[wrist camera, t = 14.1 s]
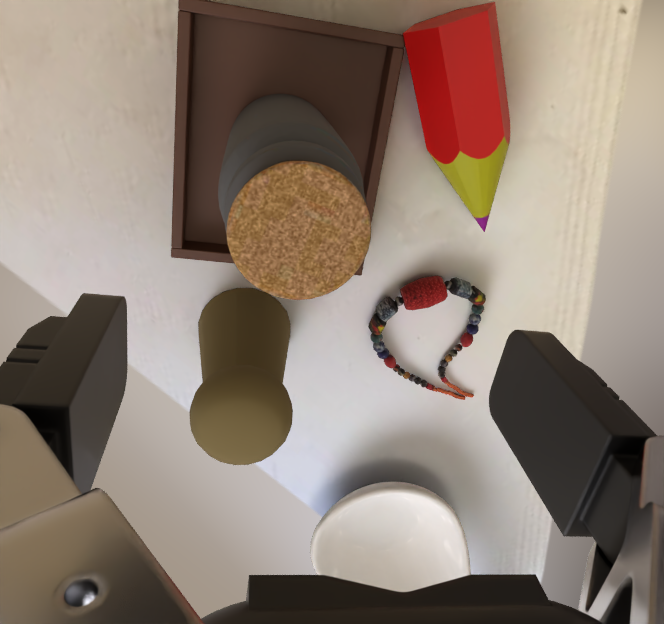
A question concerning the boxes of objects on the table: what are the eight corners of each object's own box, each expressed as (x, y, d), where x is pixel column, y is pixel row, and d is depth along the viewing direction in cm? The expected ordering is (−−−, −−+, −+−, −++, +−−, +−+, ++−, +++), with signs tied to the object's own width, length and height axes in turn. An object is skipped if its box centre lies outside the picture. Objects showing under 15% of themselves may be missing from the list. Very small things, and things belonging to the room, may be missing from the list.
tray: (183, -3, 28) (178, -5, 26) (397, 35, 30) (407, 35, 28) (175, 245, 34) (171, 257, 32) (356, 263, 36) (361, 276, 34)
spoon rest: (278, 508, 44) (283, 588, 38) (404, 432, 42) (432, 503, 36) (418, 642, 55) (442, 722, 48) (524, 586, 53) (562, 661, 47)
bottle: (206, 152, 31) (170, 245, 18) (275, 68, 29) (292, 100, 16) (286, 219, 33) (307, 346, 20) (354, 143, 32) (425, 226, 18)
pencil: (436, 232, 36) (457, 258, 32) (393, 31, 30) (413, 35, 26) (508, 208, 36) (537, 231, 32) (479, 1, 30) (512, 1, 26)
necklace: (474, 255, 36) (485, 269, 35) (494, 380, 42) (504, 397, 41) (356, 292, 37) (361, 308, 35) (392, 410, 43) (398, 429, 41)
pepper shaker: (281, 373, 39) (290, 488, 29) (192, 362, 37) (170, 478, 28) (298, 295, 36) (314, 393, 26) (204, 280, 35) (184, 377, 25)
